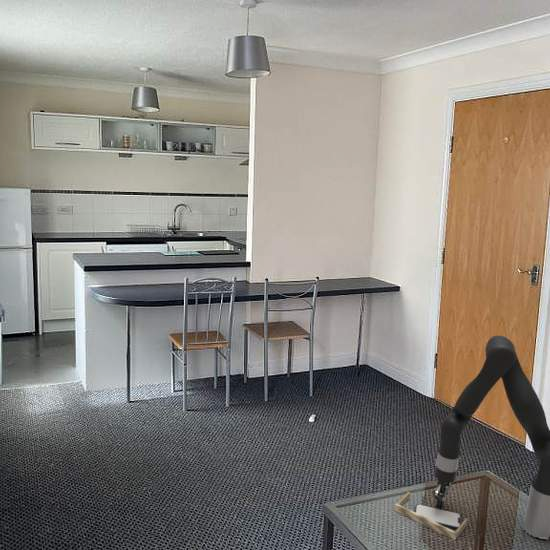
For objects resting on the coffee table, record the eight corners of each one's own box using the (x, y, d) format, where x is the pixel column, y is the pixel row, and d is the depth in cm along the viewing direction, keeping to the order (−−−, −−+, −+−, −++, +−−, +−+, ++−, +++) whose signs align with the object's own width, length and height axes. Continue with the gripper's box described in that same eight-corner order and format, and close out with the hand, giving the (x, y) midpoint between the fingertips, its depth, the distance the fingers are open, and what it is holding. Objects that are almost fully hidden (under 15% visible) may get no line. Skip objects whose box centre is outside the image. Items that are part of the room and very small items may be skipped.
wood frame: (466, 525, 212) (468, 518, 211) (455, 540, 203) (456, 534, 203) (407, 497, 225) (408, 491, 224) (394, 510, 217) (395, 504, 216)
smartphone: (413, 521, 213) (460, 532, 208) (413, 517, 212) (461, 528, 208) (415, 506, 221) (460, 517, 217) (415, 503, 221) (461, 513, 216)
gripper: (449, 477, 208) (441, 520, 212) (463, 462, 218) (455, 504, 222) (429, 468, 212) (421, 511, 217) (444, 454, 222) (436, 495, 227)
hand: (439, 507), depth 220 cm, fingers closed
